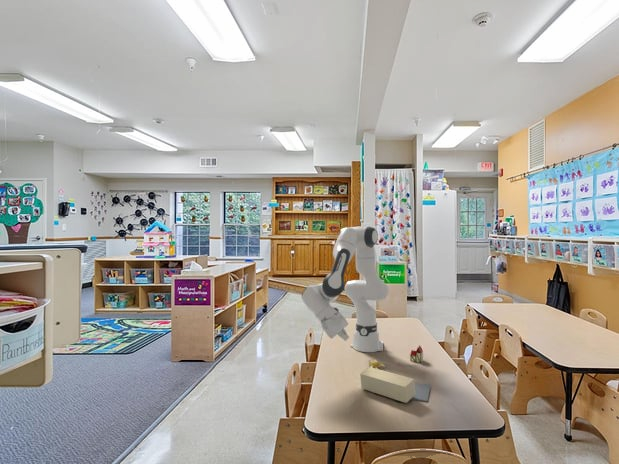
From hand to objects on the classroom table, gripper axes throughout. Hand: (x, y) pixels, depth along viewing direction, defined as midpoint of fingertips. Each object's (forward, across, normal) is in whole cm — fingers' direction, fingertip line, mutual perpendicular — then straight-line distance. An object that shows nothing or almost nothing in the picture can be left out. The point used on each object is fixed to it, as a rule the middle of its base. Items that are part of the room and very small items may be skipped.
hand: (347, 339), depth 161 cm
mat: (+30, -1, -4) cm, 30 cm away
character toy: (+20, +17, +7) cm, 27 cm away
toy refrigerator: (+17, -4, +4) cm, 18 cm away
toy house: (+32, +35, -5) cm, 47 cm away
